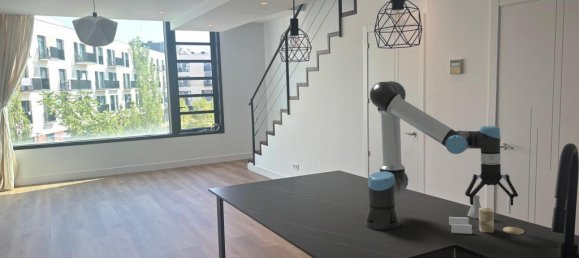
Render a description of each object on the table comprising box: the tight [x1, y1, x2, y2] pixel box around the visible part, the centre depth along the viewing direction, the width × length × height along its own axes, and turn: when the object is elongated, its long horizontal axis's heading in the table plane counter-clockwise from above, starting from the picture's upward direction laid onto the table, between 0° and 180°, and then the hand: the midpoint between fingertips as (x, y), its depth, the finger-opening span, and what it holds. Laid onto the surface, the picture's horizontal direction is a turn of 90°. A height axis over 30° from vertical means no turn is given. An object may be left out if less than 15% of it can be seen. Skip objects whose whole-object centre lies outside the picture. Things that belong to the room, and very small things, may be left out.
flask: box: [467, 194, 482, 219], centre depth 204 cm, size 7×7×10 cm
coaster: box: [502, 226, 525, 236], centre depth 183 cm, size 8×8×1 cm
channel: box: [448, 216, 473, 235], centre depth 189 cm, size 8×11×4 cm
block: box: [478, 207, 495, 234], centre depth 185 cm, size 5×5×9 cm
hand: (491, 212), depth 185 cm, fingers open, 13 cm apart
